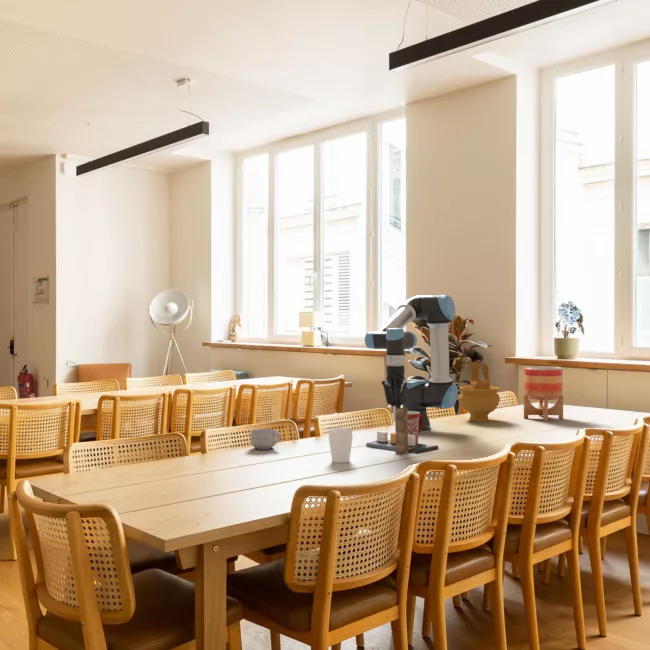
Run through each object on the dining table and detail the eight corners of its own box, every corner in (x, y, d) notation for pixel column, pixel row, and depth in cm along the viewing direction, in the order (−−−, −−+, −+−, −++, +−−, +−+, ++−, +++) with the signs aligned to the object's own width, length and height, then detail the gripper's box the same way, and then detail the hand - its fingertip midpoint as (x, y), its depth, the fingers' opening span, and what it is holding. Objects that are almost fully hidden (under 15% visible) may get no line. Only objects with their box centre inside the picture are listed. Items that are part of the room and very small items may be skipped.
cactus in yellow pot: (451, 421, 369) (451, 363, 368) (468, 416, 386) (468, 360, 385) (490, 424, 357) (490, 364, 356) (506, 419, 374) (505, 362, 373)
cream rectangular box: (407, 444, 297) (407, 434, 297) (415, 445, 294) (415, 435, 294) (404, 444, 295) (404, 435, 295) (412, 445, 293) (412, 436, 293)
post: (400, 452, 289) (400, 407, 289) (407, 453, 287) (407, 408, 286) (395, 453, 286) (395, 408, 286) (402, 454, 284) (402, 409, 284)
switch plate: (382, 442, 311) (382, 438, 311) (426, 448, 297) (426, 444, 297) (366, 446, 302) (366, 442, 302) (410, 452, 288) (410, 448, 288)
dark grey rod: (436, 448, 297) (436, 444, 297) (439, 448, 296) (439, 445, 296) (413, 453, 287) (413, 449, 287) (416, 453, 286) (416, 450, 286)
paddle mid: (393, 442, 301) (393, 432, 301) (401, 443, 299) (401, 433, 299) (390, 442, 300) (390, 433, 300) (398, 443, 297) (398, 434, 297)
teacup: (245, 448, 299) (245, 429, 299) (264, 445, 307) (264, 426, 307) (268, 453, 289) (267, 433, 289) (287, 449, 297) (287, 430, 297)
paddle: (379, 440, 306) (379, 431, 306) (387, 441, 303) (387, 431, 303) (377, 440, 304) (377, 431, 304) (384, 442, 302) (384, 432, 302)
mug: (409, 446, 301) (409, 414, 301) (394, 443, 309) (394, 412, 308) (430, 442, 309) (430, 411, 309) (415, 439, 316) (415, 409, 316)
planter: (521, 415, 386) (521, 366, 386) (559, 416, 383) (559, 366, 383) (526, 421, 366) (526, 369, 366) (566, 421, 364) (566, 369, 363)
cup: (325, 460, 275) (325, 428, 275) (346, 457, 279) (346, 427, 279) (334, 464, 267) (334, 432, 267) (356, 462, 270) (356, 430, 270)
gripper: (377, 365, 300) (378, 421, 301) (403, 366, 292) (404, 424, 292) (387, 363, 306) (388, 418, 306) (413, 365, 297) (414, 421, 298)
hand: (396, 421), depth 299 cm, fingers closed
